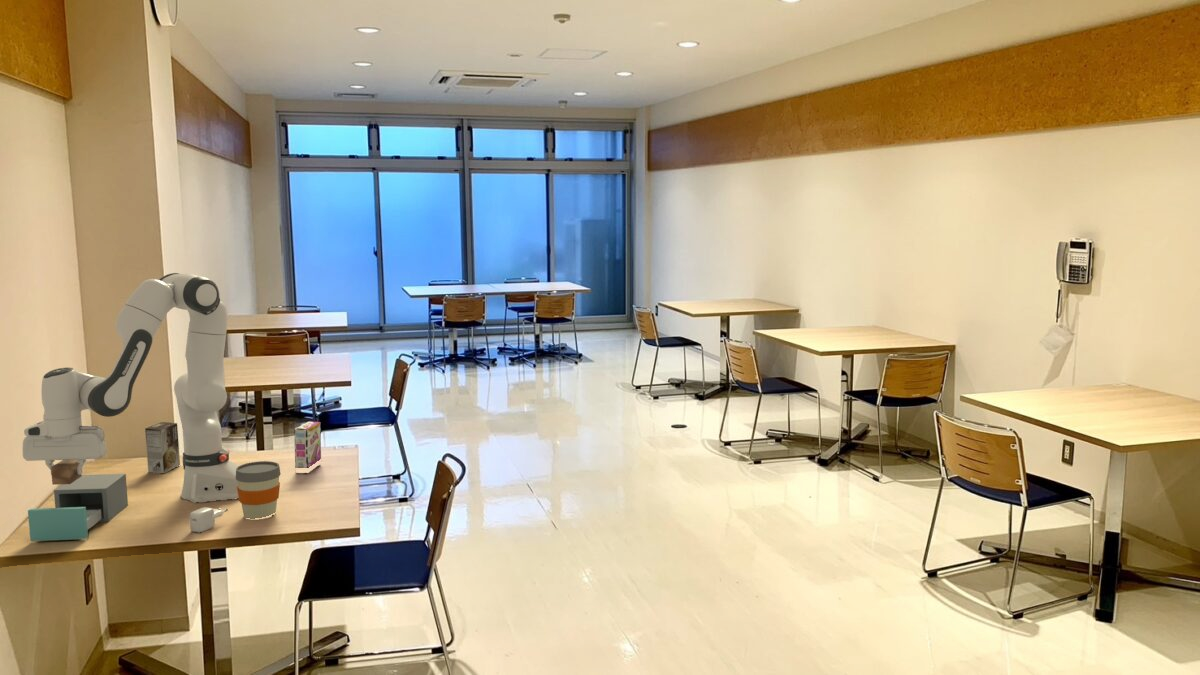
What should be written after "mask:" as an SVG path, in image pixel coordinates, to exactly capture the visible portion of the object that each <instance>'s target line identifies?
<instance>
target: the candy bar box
mask: <svg viewBox="0 0 1200 675" xmlns="http://www.w3.org/2000/svg"><path fill="white" fill-rule="evenodd" d="M321 439H322V437H321V422H320V421H307V422H305V423H302V424H301V425H299V426H297V427H295V428H294V459H295V460H294V467H295V468H309V467H310V466H312V465H313V464H315V463H316V462H317V461H319V460H320V459H321V460H322V447H321V446H322V442H321V441H322V440H321ZM295 468H294V469H295Z"/></svg>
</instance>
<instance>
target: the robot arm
mask: <svg viewBox="0 0 1200 675" xmlns="http://www.w3.org/2000/svg"><path fill="white" fill-rule="evenodd" d="M173 308H176V309H180V310H184V311H185V310H186V311H187V313H188V315H189V322H188V330H187V336H186V337H187V339H186V345H185V346H186V347H185V352H184V353H185V355H184V357H185V359H186V367H187V368H186V370H187V373H184V374H182V375H181V376H179V377H178V378H177V379H176V380H175V383H174V384H173V392H174V395H175V397H176V404H177V409H178V414H179V418H180V423H181V428H182V437H183V438H182V440H183V452H182V467H183V470H184V472H183V473H184V474H183V484H182V490H181V492H180V497H181V498H182V499H184V500H188V501H191V503H193V502H194V503H195V504H197V503H196V502H199V503H207V501H210V502H217V501H216V500H221V501H228V500H227V499H232V500H236V499H235V498H239V496H238V491H237V486H238V483H237V480H236V468H237V467H238V466H239V465H238V464H236V463H235V462H233V461H232V460H230V456H229V455H230V450H229V449H228V450H225V449H224V448H223V447H222V446H223V441H222V426H221V423H220V420H219V417H218V413H217V412H218V411H220V410H221V409H222V408H224V406H225V405H226V403H227V399H228V393H227V391H226V383H225V382H226V380H225V377H226V376H225V367H224V366H225V365H224V364H225V363H224V361H225V360H224V359H225V358H224V357H225V355H224V354H225V348H226V340H227V331H228V330H227V328H228V315H227V314H228V313H227V307H226V304H225V303H224V302H223V301H222V300H221V299H220V291H219V287H218V286H217V284H216V282H214V281H213V280H211V279H210V278H208V277H207V276H206V277H205V276H201V275H196V274H192V273H178V272H173V273H172V272H171V273H167V274H165V275H163V276H162V277H161V278H159V279H156V278H149V279H146V280H144V281H143V282H141V283H140V285H138V286H137V288H136V289H135V290H134V291H133V292H132V293H131V295H130V296H129V298H128V299H127V301H126V302H125V303H124V304H123V306H122V308H121V310H120V312H119V313H118V316H117V318H116V321H115V330H116V332H117V333H116V334H118V336H119V337H120V339H121V342H122V349H121V353H120V355H119V356H118V358H117V360H116V362H115V364H114V366H113V368H112V370H111V372H110V374H109V375H108V376H107V377H103V376H99V375H91V374H87V373H85V372H81V371H78V370H76V369H75V368H73V367H61V368H56V369H53V370H50V371H48V372H47V373H45V374H44V375H43V377H42V380H41V390H40V391H41V404H42V406H43V409H44V411H43V416H42V419H43V421H40V422H37V423H34V424H33V425H30V426H28V427H25V428H24V430H23V434H24V436H25V437H24V439H23V441H22V458H23V459H24V460H25V461H26V462H30V461H31V462H33V461H35V462H36V461H37V462H38V461H44V462H45V465H46V467H48V469H49V470H50V471H51V467H52V466H54V465H55V464H54V462H56V461H62V460H76V459H77V463H80V464H79V466H78V467H76V468H75V469H74V474H75V475H80V474H82V475H83V467H84V466H85V463H86V462H87V460H99V459H100V460H101V459H102V458H103V457H104V456H105V455H106V454H107V446H106V442H105V430H104V429H103V428H101V427H99V426H98V425H83V424H82V423H83V421H82V412H83V411H84V410H88V411H92V412H94V413H97V414H98V415H100V416H101V417H106V418H107V417H109V418H110V417H116V416H118V415H120V414H122V413H123V412H125V410H126V409H127V408H128V406H129V405H130V403H131V401H132V400H131V399H132V393H133V387H134V385H135V382H136V380H137V377H138V376H139V373H140V372H141V369H142V367H143V365H144V363H145V361H146V360H147V357H148V354H149V352H150V350H151V348H152V344H153V341H154V339H155V336H156V334H157V332H158V330H159V329H160V327H161V325H162V324H163V322H164V320H165V318H166V316H167V314H168V313H169V312H170V311H171V310H172V309H173ZM50 476H52V473H51V472H50Z"/></svg>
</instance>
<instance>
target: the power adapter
mask: <svg viewBox="0 0 1200 675" xmlns="http://www.w3.org/2000/svg"><path fill="white" fill-rule="evenodd" d="M228 510H229V509H228V508H225V509H223V510H222V507H217V508H212V507H205V506H204V507H200V508H198V509H195V510H193V511H191V512H190V513H189V527H190V528H189V529H190V531H191V532H194V533H200V532H201V533H203V532H206V531H208V530H210V529H212V528H214V527H215V525H216V524H215V519H217V518H219V517H222V515H223V514H224V513H226V512H228Z"/></svg>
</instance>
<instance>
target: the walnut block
mask: <svg viewBox="0 0 1200 675" xmlns="http://www.w3.org/2000/svg"><path fill="white" fill-rule="evenodd" d="M79 464H80V463H77V459H76V460H59V462H57V463H55V464H54V466H52V467H51V470H50V474H51V473H52V475H51V484H52V485H62V484H71V483H73V482H74V481H75V480H77V479H78V478H80V477H81V476H82V475H83V473H82V474H80V475H75V474H74V469H75V468H76V467H78V466H79Z"/></svg>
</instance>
